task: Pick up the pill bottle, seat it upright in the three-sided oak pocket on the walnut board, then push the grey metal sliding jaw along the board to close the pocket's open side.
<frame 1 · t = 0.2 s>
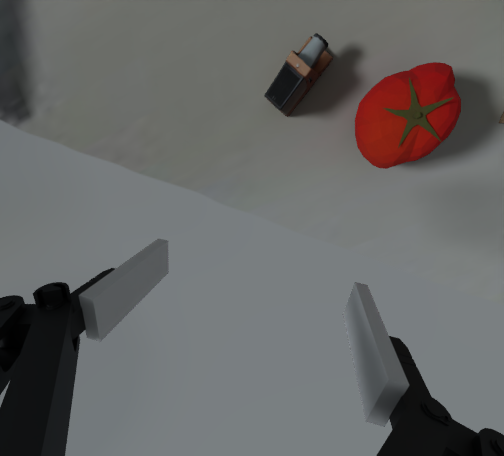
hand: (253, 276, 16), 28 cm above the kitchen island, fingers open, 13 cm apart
electronic device: (298, 80, 35), on the kitchen island
tomato: (387, 120, 35), on the kitchen island
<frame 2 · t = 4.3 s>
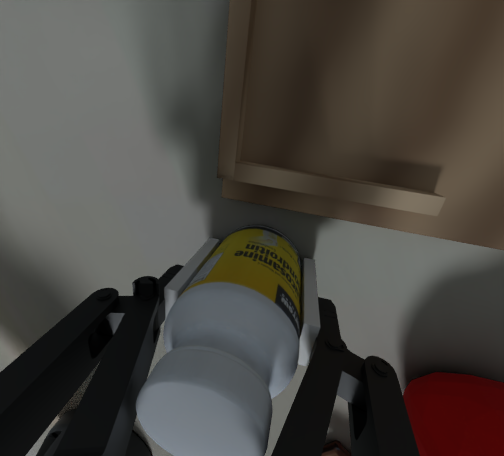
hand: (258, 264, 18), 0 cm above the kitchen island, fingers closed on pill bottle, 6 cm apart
board: (423, 77, 12), on the kitchen island
pill bottle: (259, 259, 19), on the kitchen island, touching gripper
tomato: (454, 398, 20), on the kitchen island
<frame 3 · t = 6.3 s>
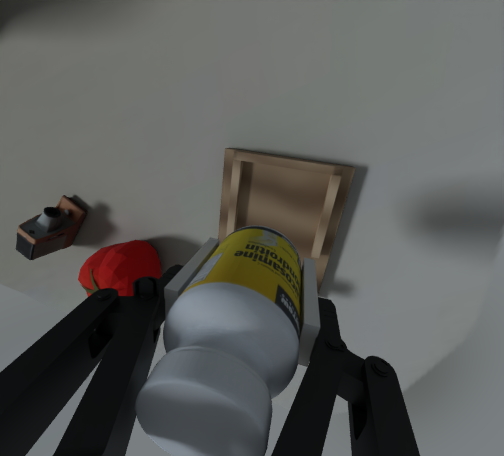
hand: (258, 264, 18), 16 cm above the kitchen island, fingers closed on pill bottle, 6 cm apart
board: (275, 228, 34), on the kitchen island
electronic device: (72, 220, 41), on the kitchen island
pill bottle: (259, 259, 19), point 15 cm above the kitchen island, touching gripper
tomato: (142, 260, 41), on the kitchen island
when the fingers open (4 cm above the kitchen island, at t = 8.8 s): pill bottle drops 2 cm, resting on board.
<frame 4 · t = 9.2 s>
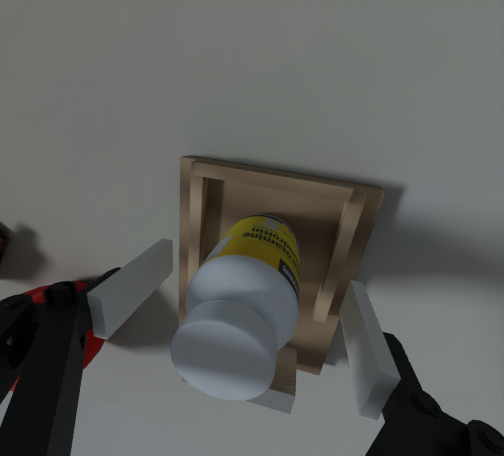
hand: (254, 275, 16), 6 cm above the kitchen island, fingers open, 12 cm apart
jaw: (242, 362, 23), point 4 cm above the kitchen island, slide at 0.0 cm
board: (261, 271, 23), on the kitchen island
pill bottle: (262, 245, 21), point 1 cm above the kitchen island, touching board
tomato: (86, 303, 31), on the kitchen island
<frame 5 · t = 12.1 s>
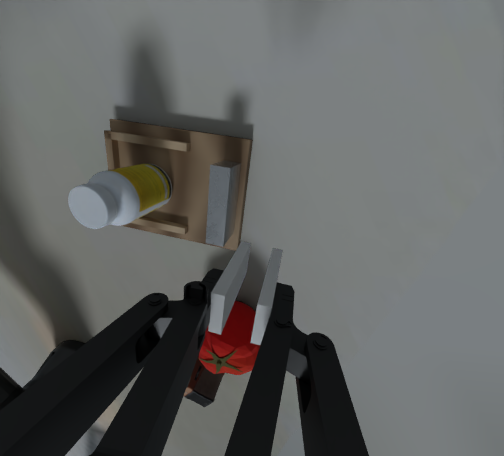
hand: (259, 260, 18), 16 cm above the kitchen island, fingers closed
jaw: (223, 202, 31), point 4 cm above the kitchen island, slide at 0.0 cm
board: (181, 186, 35), on the kitchen island
electronic device: (204, 356, 49), on the kitchen island
pill bottle: (154, 185, 35), point 1 cm above the kitchen island, touching board
tomato: (236, 314, 43), on the kitchen island
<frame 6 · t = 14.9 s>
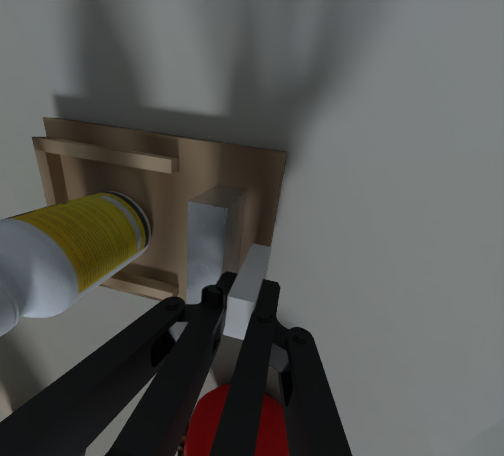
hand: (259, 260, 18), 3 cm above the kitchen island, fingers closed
jaw: (216, 259, 18), point 4 cm above the kitchen island, slide at 1.6 cm, touching gripper
board: (167, 224, 22), on the kitchen island
electronic device: (202, 441, 35), on the kitchen island
pill bottle: (123, 223, 22), point 1 cm above the kitchen island, touching board
tomato: (251, 400, 29), on the kitchen island
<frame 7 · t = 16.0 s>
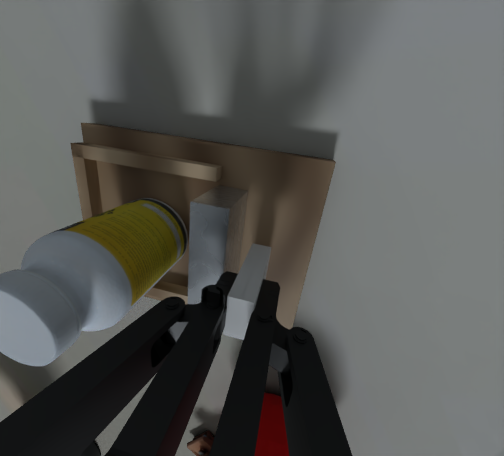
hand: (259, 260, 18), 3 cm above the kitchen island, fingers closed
jaw: (217, 259, 18), point 4 cm above the kitchen island, slide at 5.0 cm, touching gripper
board: (201, 231, 22), on the kitchen island
electronic device: (222, 447, 35), on the kitchen island
pill bottle: (158, 230, 21), point 1 cm above the kitchen island, touching board
tomato: (277, 408, 29), on the kitchen island
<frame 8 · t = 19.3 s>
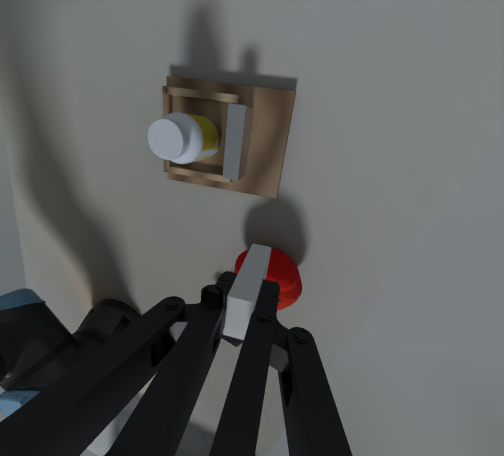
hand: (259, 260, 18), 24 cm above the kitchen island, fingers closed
jaw: (237, 143, 35), point 4 cm above the kitchen island, slide at 5.0 cm
board: (226, 140, 39), on the kitchen island
electronic device: (232, 305, 53), on the kitchen island
pill bottle: (203, 138, 39), point 1 cm above the kitchen island, touching board
tomato: (270, 264, 47), on the kitchen island
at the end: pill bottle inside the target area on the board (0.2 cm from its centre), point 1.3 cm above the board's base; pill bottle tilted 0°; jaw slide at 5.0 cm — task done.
